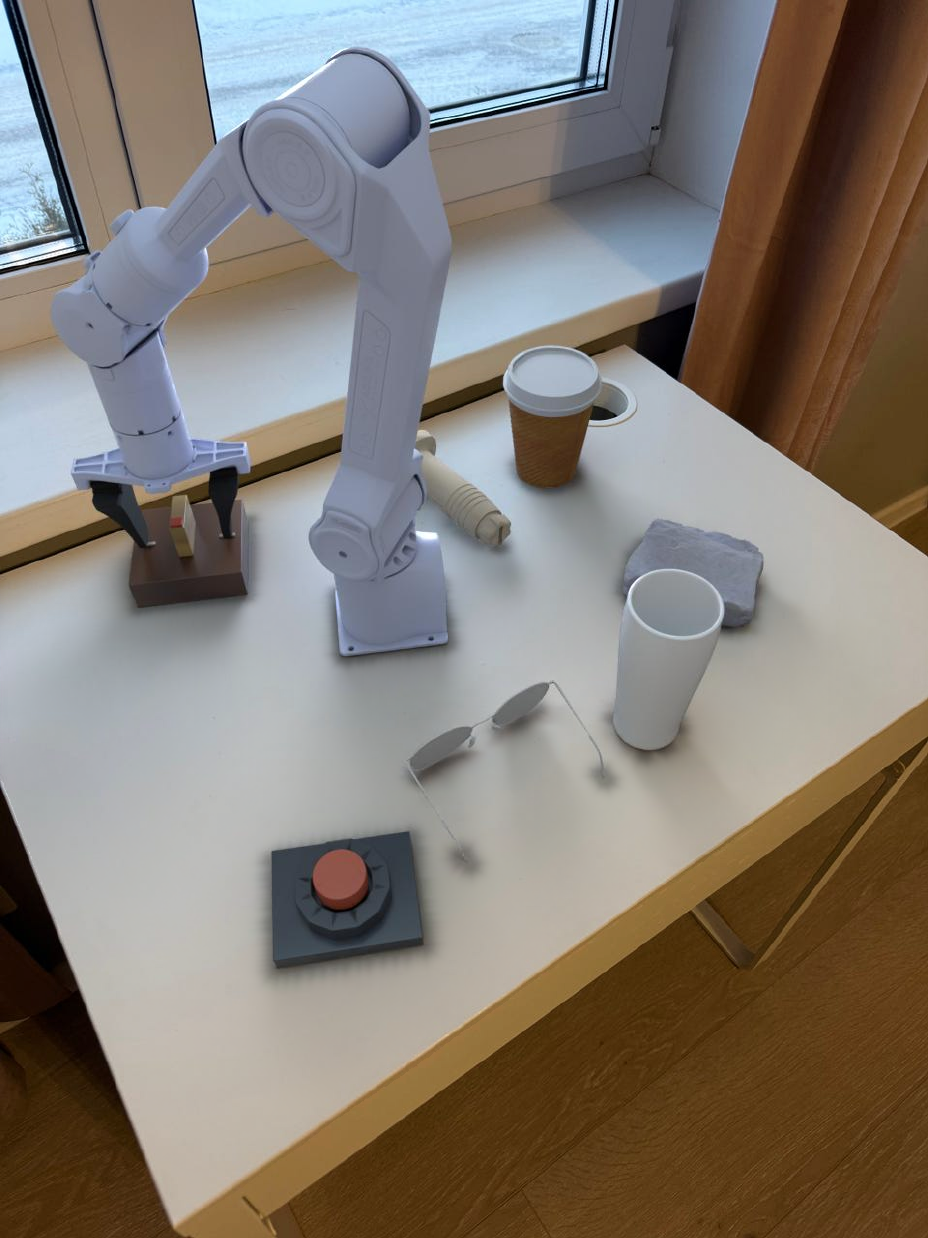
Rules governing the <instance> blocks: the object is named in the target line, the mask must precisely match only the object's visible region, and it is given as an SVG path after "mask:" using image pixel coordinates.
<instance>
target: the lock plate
mask: <svg viewBox="0 0 928 1238" xmlns="http://www.w3.org/2000/svg"><path fill="white" fill-rule="evenodd" d="M190 506H191V510H192V513H193V516H194V519H195V522H196V526H195V539H194V552H193V556H185V557H179V555H178V553H177V550H176V547H175V544H174V541H173V539H172V536H171V533H170V530H169V528H170V518H171V508H172V506H169V507H168V506H167V507H159V508H149V509H140V510H141V512H142V514H143V517H144V519H145V521H146V524H147V528H148V532H149V535H148V543H147V547H146V548H139V546H138V545H137V544H136V542H135V541H134V540H133V544H132V552H131V561H130V567H129V577H128V584H127V586H128V588H129V590H130V592H131V595H132V598H133V600H134V602H135V604H136V607H137V608H144V607H152V606H163V605H169V604H179V603H186V602H196V601H205V600H212V599H219V598H221V599H222V598H228V597H236V596H237V597H238V596H245V595H249V519H248V515H247V512H246V507H245V504H244V500H243V499H235V501H234V504H233V507H232V512H231V518H232V538H229V539H224V537H223V535H222V531H221V527H220V522H219V517H218V514H217V512H216V509H215V507H214V504H213V502H205V503H196V504H190Z"/></svg>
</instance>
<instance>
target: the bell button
mask: <svg viewBox="0 0 928 1238" xmlns="http://www.w3.org/2000/svg"><path fill="white" fill-rule="evenodd" d="M313 883H314V887H315V890H316V893H317V896H318V898H319V900H320V901H321V902H322V903H323V904H324V905H325V906H327V907H329V908H331V909H335V910H345V909H349V908H351V907H353V906H355V905H357V904H358V903H359V902H360V901H361V900H362V899H363V898H364V896H365V894H366V892H367V890H368V884H369V881H368V875H367V870H366V866H365V863H364V861H363V860H362V858H361V857H360V856H359V855H358V854H356V853H354V852H352V851H349V850H343V849H341V850H334V851H331V852H329V853H327V854H326V855H324V856H323V857H322V858H321V859H320V860H319V861H318V862H317V864H316V866H315V868H314V871H313Z"/></svg>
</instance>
